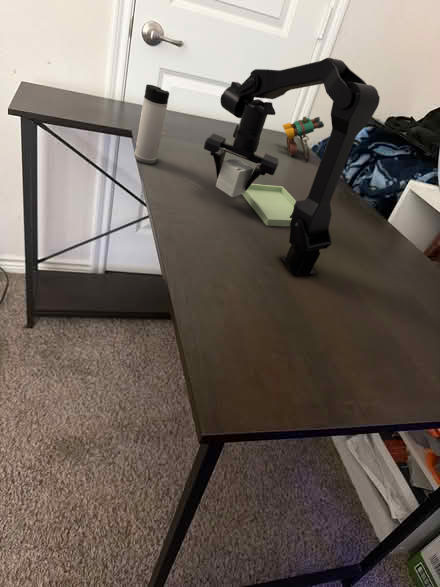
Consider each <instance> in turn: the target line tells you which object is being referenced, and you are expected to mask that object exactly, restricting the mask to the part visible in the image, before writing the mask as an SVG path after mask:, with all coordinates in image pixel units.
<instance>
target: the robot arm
mask: <svg viewBox="0 0 440 587" xmlns="http://www.w3.org/2000/svg"><path fill="white" fill-rule="evenodd" d="M319 85H323V87H324V89H325V93H326V94H327V96H328V97H329V98H330V99H331V101H332V103H331V104H332V105H331V108H330V122H331V132H330V134H329V137H328V140H327V143H326V146H325V149H324V151H323V154H322V157H321V160H320V162H319V165H318V168H317V171H316V173H315V176H314V179H313V181H312V183H311V187H310V190H309V193H308V195H307V197H305V199H303V200H296V203H295V205H294V209H293V212H292V215H291V216H290V218H292V219H291V222H290V226H289V228H290V232H289V241H288V243H289V244H290V247H289V249H288V251H287V253H286V256H281V257H280V260H281V262H282V263H283V264H284V266H285V267H286V269H287V270H288V271H289V272H290V273H291V275H293V276H314V275H316V271H314V269H313V268H314V267H315V265H316V263H317V261H318V259H319V257H320V255H321V252H320V250H326V249H328V248H329V247H330V246H331V245H332V244H333V242H332V237H331V231H330V228H329V226H330V222H331V218H332V209H331V202H332V199H333V196H334V194H335V192H336V189H337V186H338V183H339V181H340V178H341V176H342V173H343V170H344V168H345V166H346V163H347V161H348V159H349V158H348V157H349V156H350V153H351V151H352V148H353V145H354V143H355V141H356V138H357V136H358V135H359V134H360V133H361V131H362V130H363V129H365V128H366V126H368V124H369V123H370V121H371V119H372V118H373V116H374V114H375V113H376V111H377V109H378V107H379V105H380V101H381V100H380V98H381V96H380V95H379V91H378V90H377V88H376V87H375V86H373V85H371V84H367V82H366V81H365V80H364V79H362V77H360V76H359V75H358V74H356V73H355V72H354V71H352V69H350V67H349V66H348V65H347V64H346V63H345V62H344V61H343V60H342V59H338V58H334V57H325V58H323V59H321V60H318V61H314V62H309V63H306V64H301V65H297V66H293V67H288V68H285V69H269V68H266V69H265V68H255V69H252V70H251V72H250V74H249V76H248V77H247V78H246V79H245V80H244V82H242V83H241V82H238V81H231V83H230V86H228V87H226V88H225V89H224V91H223V92H222V94H221V95H220V100H219V101H220V105H221V107H222V108H223V109H224V110H226V112H228V113H230V114H231V115H233V117H236V118H237V119H240V120H239V124H236V126H235V128H234V131H233V134H232V137H233V138H234V139H233V143H232V144H229V143H228V142H226V140H227V137H224V136H221V135H219V134H216V133H212V134H210V135H209V136H208V137H207V138H206V139H205V142H204V145H203V149H204V150H205V151H207V152H210V153H209V155H210V156H212V157H213V161H214V165H215V172H216V173H215V174H216V181H217V180H218V177H219V173H220V170H221V167H222V163H223V161H225V157H226V154H227V153H228V154H231V155H233V156H236V157H239V158H241V159H243V160H246V161H249V162H251V163H254V164H256V166H255V168H253V172H252V175H251V177H250V179H249V181H248V183H247V185H246V188H245V191H246V190H247V189H248V188H249V187H250V185H251V184H254V182H255V181H256V180H257V179H258V178H259V177H260V176H266V174H267V175H270V176H274V175H275V173H276V170H277V169H278V166H279V165H280V164H279V163H280V159H279V158H278V157H276V156H274V155H270V154H268V153H265V154H264V156H261V155H258V154H256V153H257V151H258V148H259V144H260V141H261V135H262V131H263V129H264V126H265V123H266V120H267V117H268V116H275V115H276V110H275V108H274V106H273V102H270V101H263V100H261V99H267V100H275V99H277V98H280V97H282V96H284V95H286V94H287V92H289V91H291V90H297V89H301V88H308V87H312V86H319ZM255 98H256V99H255Z"/></svg>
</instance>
